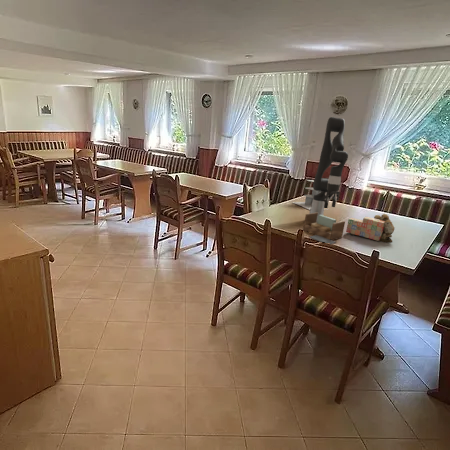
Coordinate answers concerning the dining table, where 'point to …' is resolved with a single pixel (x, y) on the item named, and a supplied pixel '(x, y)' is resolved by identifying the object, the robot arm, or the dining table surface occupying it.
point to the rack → (335, 233)
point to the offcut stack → (321, 227)
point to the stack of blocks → (366, 227)
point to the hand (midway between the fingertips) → (329, 207)
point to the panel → (326, 221)
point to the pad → (322, 239)
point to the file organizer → (308, 198)
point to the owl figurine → (386, 228)
